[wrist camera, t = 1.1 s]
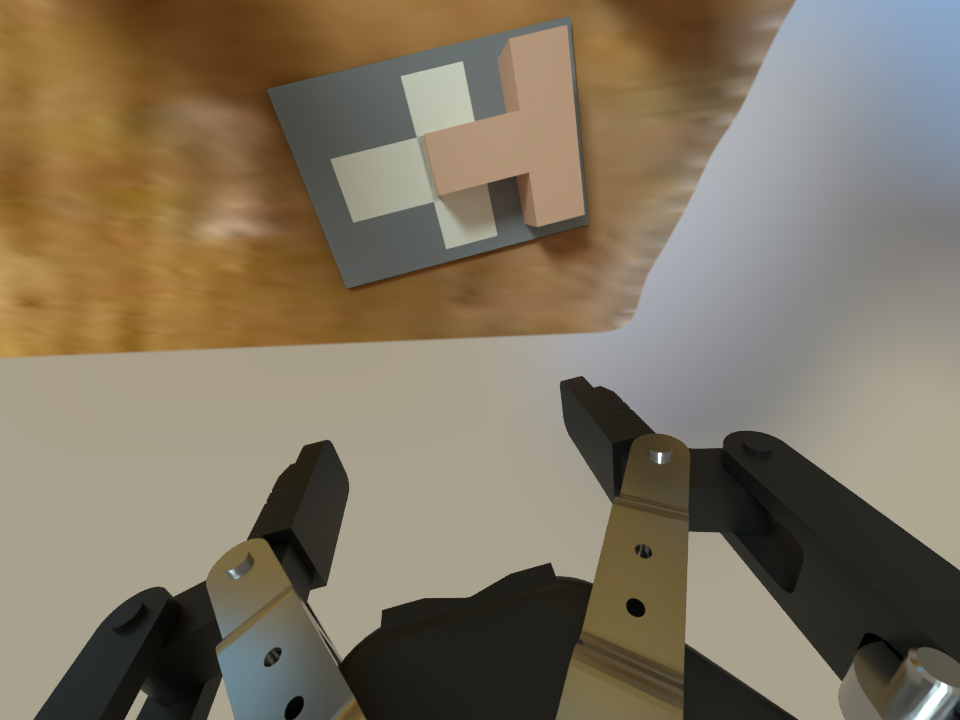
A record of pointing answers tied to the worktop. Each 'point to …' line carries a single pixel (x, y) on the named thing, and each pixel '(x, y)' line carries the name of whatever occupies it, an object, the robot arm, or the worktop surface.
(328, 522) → the robot arm
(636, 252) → the worktop surface
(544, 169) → the T-block
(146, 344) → the worktop surface
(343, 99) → the mat
